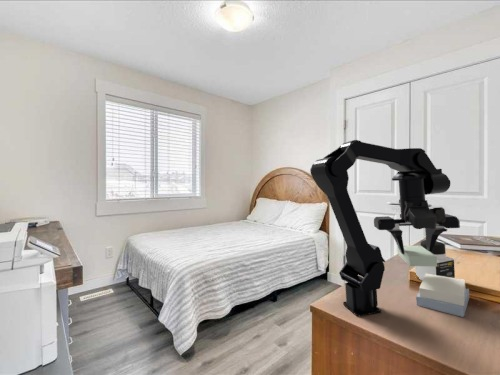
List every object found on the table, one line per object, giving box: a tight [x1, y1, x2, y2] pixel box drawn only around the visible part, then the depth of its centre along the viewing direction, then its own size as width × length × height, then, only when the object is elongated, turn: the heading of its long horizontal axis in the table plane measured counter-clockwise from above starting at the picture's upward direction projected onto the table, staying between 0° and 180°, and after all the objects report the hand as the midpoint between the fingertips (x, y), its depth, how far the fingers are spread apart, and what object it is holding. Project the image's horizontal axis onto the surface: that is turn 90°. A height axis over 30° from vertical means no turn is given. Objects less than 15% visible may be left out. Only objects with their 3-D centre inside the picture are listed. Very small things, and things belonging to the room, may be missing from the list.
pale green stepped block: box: [397, 245, 437, 267], centre depth 68 cm, size 10×6×2 cm, turn 164°
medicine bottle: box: [414, 239, 456, 282], centre depth 76 cm, size 7×7×12 cm
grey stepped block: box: [415, 274, 470, 318], centre depth 63 cm, size 12×9×4 cm
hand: (415, 253), depth 67 cm, fingers closed on pale green stepped block, 6 cm apart
